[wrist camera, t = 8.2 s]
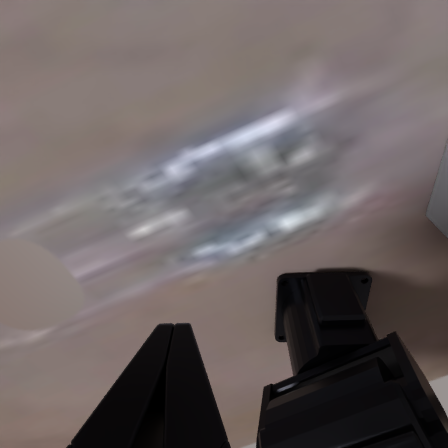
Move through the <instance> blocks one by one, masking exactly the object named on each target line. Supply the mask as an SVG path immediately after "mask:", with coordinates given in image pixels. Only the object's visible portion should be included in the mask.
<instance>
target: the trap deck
mask: <svg viewBox="0 0 448 448" xmlns="http://www.w3.org/2000/svg"><path fill="white" fill-rule="evenodd" d="M426 216H427V217H428V218H429V220H430V221H431V222H432V223H433V224H434V225H435V226H436V227H437V228H438V229H439V230H440V231H441V232H442V233H443V234H444V235H445V236H446V237H447V238H448V140H447V143H446V147H445V150H444V154H443V157H442V160H441V164H440V167H439V171H438V174H437V178H436V181H435V184H434V188H433V191H432V195H431V198H430V201H429V205H428V208H427V212H426Z"/></svg>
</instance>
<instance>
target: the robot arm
mask: <svg viewBox="0 0 448 448" xmlns="http://www.w3.org/2000/svg"><path fill="white" fill-rule="evenodd" d="M363 278H366V279H364V280H362V279H363ZM283 281H287V282H284V283H283ZM371 283H372V278H371V276H370V274H369V273H368V272H336V273H307V274H283V275H280V276H279V277H278V278H277V291H276V313H275V339H276V341H278V342H287V345H288V351H289V356H290V361H291V366H292V372H293V377H290V378H288V379H285V380H283V381H281V382H278V383H276V384H274V385H273V384H269V385H267V386H265V387H264V389H263V397H262V404H261V411H260V419H259V426H258V433H257V442H256V448H448V417H447V415H446V413H445V411H444V409H443V407H442V405H441V403H440V402H439V400H438V398H437V396H436V395H435V393H434V391H433V389H432V388H431V386H430V384H429V382H428V380H427V379H426V377H425V375H424V374H423V372H422V370H421V369H420V367H419V366H418V364H417V363H416V361H415V360H414V358H413V357H412V355H411V354H410V352H409V351H408V349H407V348H406V346H405V345H404V343H403V342H402V340H401V339H400V337H399V336H398V334H397V333H396V331H395V332H393V333H391V334H388V335H387V337H386V338H383V339H381V340H378V338H377V336H376V334H375V332H374V329H373V327H372V325H371V323H370V321H369V319H368V317H367V314H366V312H365V309H366V305H367V301H368V296H369V292H370V287H371ZM66 448H231V447H230V443H229V442H228V438H227V435H226V432H225V429H224V426H223V422H222V419H221V416H220V413H219V410H218V407H217V404H216V401H215V398H214V395H213V392H212V388H211V385H210V382H209V379H208V376H207V373H206V370H205V367H204V364H203V361H202V358H201V354H200V351H199V348H198V345H197V342H196V339H195V336H194V333H193V330H192V327H191V324H190V323H176V324H175V325H174V324H172V323H164V324H159V325H157V326H156V328H155V329H154V330H153V332H152V333H151V334H150V336H149V337H148V339H147V340H146V341H145V343H144V344H143V345H142V347H141V348H140V349H139V351H138V352H137V353H136V355H135V356H134V357H133V359H132V360H131V361H130V363H129V364H128V365H127V367H126V368H125V370H124V371H123V372H122V374H121V375H120V376H119V378H118V379H117V380H116V382H115V383H114V384H113V386H112V387H111V388H110V390H109V391H108V392H107V394H106V395H105V396H104V398H103V399H102V400H101V402H100V403H99V405H98V406H97V407H96V409H95V410H94V411H93V413H92V414H91V415H90V417H89V418H88V419H87V421H86V422H85V423H84V425H83V426H82V427H81V429H80V430H79V431H78V433H77V434H76V436H75V437H74V438H73V440H72V441H71V444H69V445H68V446H67V447H66Z"/></svg>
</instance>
